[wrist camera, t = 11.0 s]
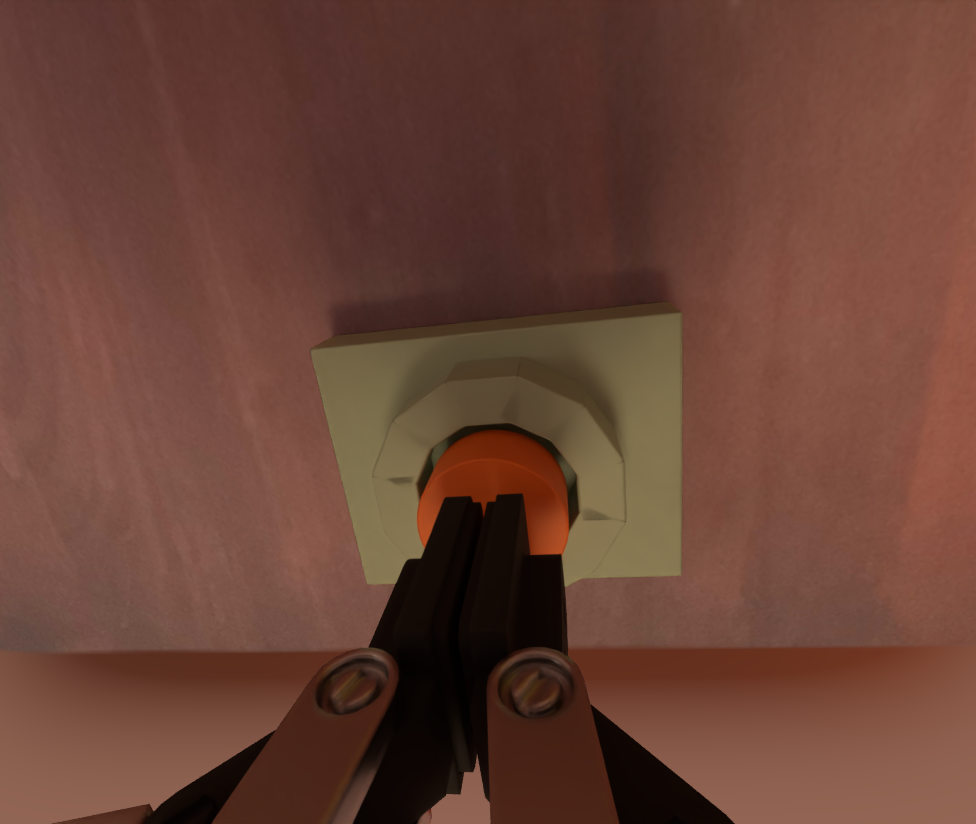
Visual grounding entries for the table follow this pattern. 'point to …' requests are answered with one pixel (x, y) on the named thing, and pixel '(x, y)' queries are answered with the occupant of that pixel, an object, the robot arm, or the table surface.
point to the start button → (502, 484)
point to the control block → (517, 426)
